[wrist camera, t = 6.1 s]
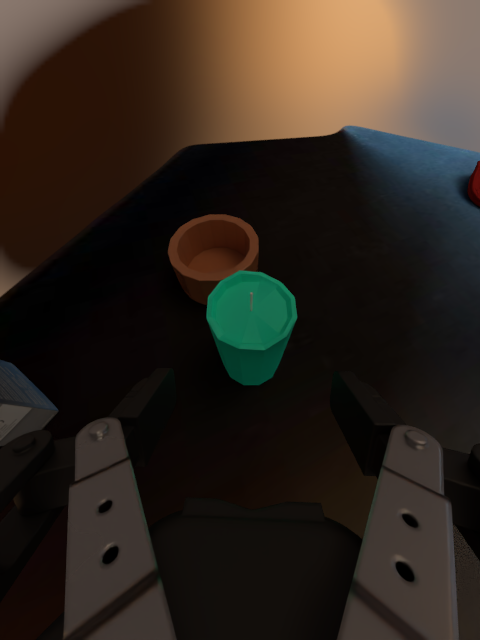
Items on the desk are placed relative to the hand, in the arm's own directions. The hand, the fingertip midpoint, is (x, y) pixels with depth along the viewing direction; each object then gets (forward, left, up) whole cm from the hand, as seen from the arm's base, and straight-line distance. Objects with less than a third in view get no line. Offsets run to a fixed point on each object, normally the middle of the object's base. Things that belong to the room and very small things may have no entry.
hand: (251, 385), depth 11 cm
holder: (-9, -15, -12) cm, 21 cm away
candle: (-4, -4, -12) cm, 13 cm away
